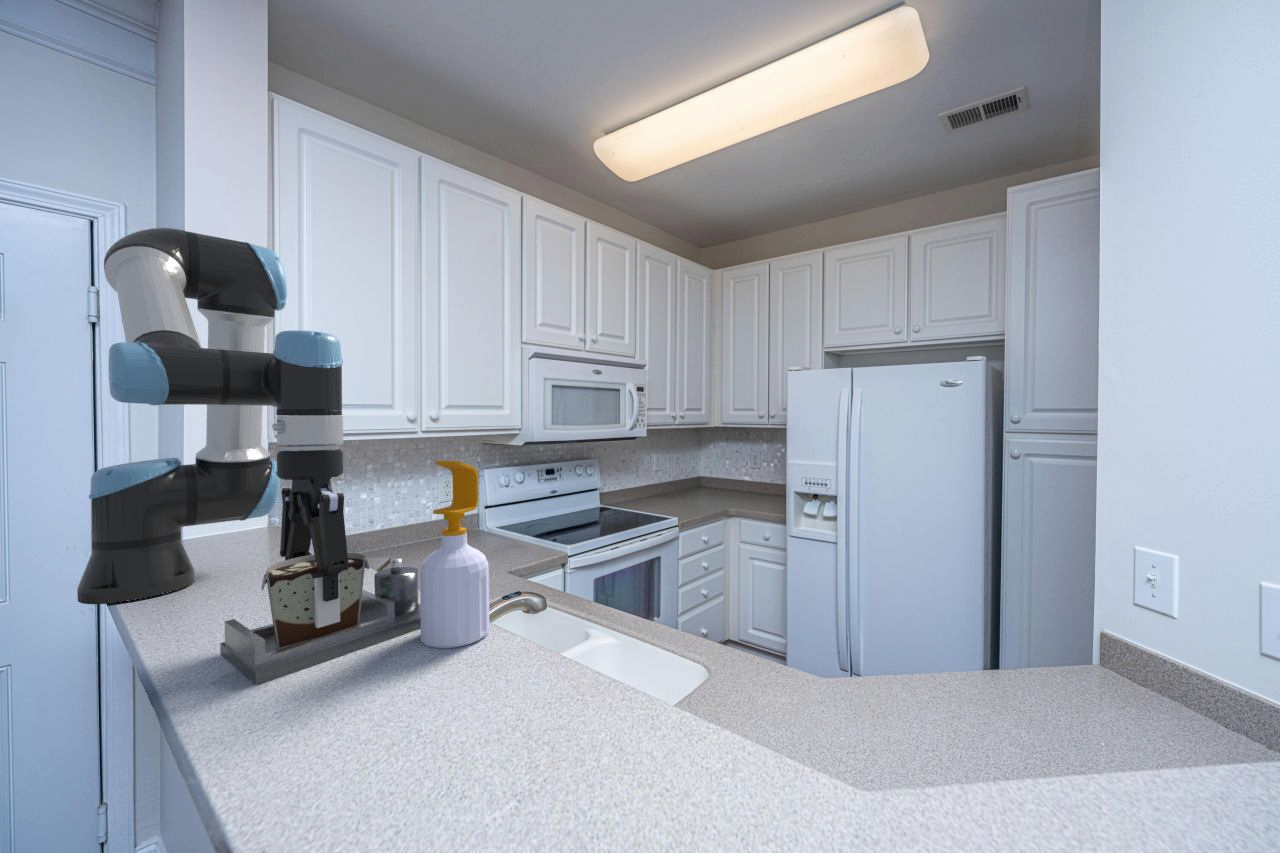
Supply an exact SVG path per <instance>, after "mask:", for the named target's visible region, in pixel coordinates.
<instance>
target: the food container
mask: <svg viewBox="0 0 1280 853" xmlns="http://www.w3.org/2000/svg"><path fill="white" fill-rule="evenodd" d="M347 554H348V564H349V568H348V570H344V571H342V572H341V573H339V576H340V622H337V623H333V624H330V625H327V626H323V627H320V628H317V627H315V586H314V579H313V577H312V574H314V573H316V572H318V570H317V565H316V560H315V555H314V554H312V555H309V556H303V557H298V558H293V559H289V560H286V561H285V560H282V561H280V562H277V563H275V564H272V565H270V566H269V567H267V569H266V571H265V573H264V574H263V579H262V582H261V583H262V584H261V588H260V589H261V591H263V590H265V586H267V592H268V597H269V604H270V611H271V620H272V624H273V626H274V633H275V640H276V647H277V650H279V649H282V648H285V647H289V646H292V645H295V644H298V643H302V642H305V641H308V640H311V639H314V638H318V637H321V636H324V635H327V634H331V633H334V632H337V631H340V630H343V629H347V628H350V627H353V626H356V625H359V622H360V611H361V600H362V590H364V588H363V587H364V577H365V570H366V569H367V570H370V565H369V561H368V559H367V558H366V554H363V553H360V552H351V551H350V552H349V551H347Z"/></svg>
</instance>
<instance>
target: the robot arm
mask: <svg viewBox="0 0 1280 853" xmlns="http://www.w3.org/2000/svg"><path fill="white" fill-rule="evenodd" d="M284 269H285V268H284V266H283V263H282V261H281V259H280V257H279V256H278V254H277V253H276V252H275V251H274V250H272V249H271V248H269V247H268V248H267V247H264V246H260V245H257V244H254V243H250V242H247V241H246V242H245V241H238V240H234V239H229V238H223V237H219V236H212V235H209V234H208V235H207V234H202V233H197V232H192V231H186V230H184V229H179V228H169V227H155V228H154V227H153V228H147V229H141V230H138V231H135V232H132V233H130V234H128V235H127V234H126V235H124V236H123V237H121V238H120V239H119V240H116V242H114V243H113V244H112V245H111V246H110V247H109V249H108V250H107V252H106V253H105V256H104V259H103V271H104V276H105V279H106V281H107V283H108V285H109V286H110V287H111V288H112V289H113V290H114V291H115V293H116V292H117V299H118V305H119V310H120V316H121V322H122V327H123V328H122V329H123V333H124V339H125V341H124V342H120V341H119V342H116V343H113V344H112V345H111V346H110V347H109V349H108V381H109V382H108V383H109V394H110V396H111V397H112V398H113V399H114V400H115V401H117V402H120V403H125V404H127V403H129V404H144V405H149V406H150V405H151V406H160V405H196V406H197V405H205V406H206V434H205V435H206V438H205V439H206V443H205V444H206V445H205V446H204V447H203V448H202V449H200V450H199V451H197V452H196V453H195V463H193V464H192V463H191V464H182V460H180V458H178V457H166V458H155V459H149V460H140V461H134V462H128V463H127V462H126V463H120V464H114V465H110V466H106V467H103V468H100V469H98V470H96V471H95V472H94V473H93V474H92V475H91V478H90V494H89V495H88V500H90V505H91V506H90V508H91V509H90V522H91V523H90V524H91V526H90V527H91V528H90V529H91V530H90V533H91V535H90V536H91V538H90V540H91V554H90V557H89V559H88V562H87V564H86V566H85V569H84V571H83V573H82V576H81V578H80V581H79V583H78V586H77V590H76V592H77V602H78V603H81V604H83V605H84V604H85V605H107V604H108V605H109V604H117V603H116V602H120V603H122V602H121V601H127V600H134V601H136V600H135V599H140V598H145V597H150V598H152V597H151V596H155V597H157V596H156V595H159V594H162V593H167V592H170V591H174V590H177V589H180V590H182V589H181V588H183V589H185V588H187V587H189V586H191V585H193V584H194V583H195V581H194V580H196V579H195V568H194V565H193V564H192V562H191V560H190V557H189V555H188V553H187V551H186V549H185V547H184V545H183V542H182V541H183V540H182V528H183V527H192V526H199V525H200V526H202V525H209V524H217V523H225V522H232V521H233V522H234V521H243V522H244V521H247V520H250V519H255V518H261V517H264V516H267V515H268V514H270V513H271V511H272V510H273V509H274V508H275V505H277V500H278V498H279V494H280V488H281V480H283V481H284V480H285V481H287V480H288V481H292V482H291V487H283V488H282V489H281V501H282V509H281V510H282V511H281V512H282V513H281V526H280V527H281V530H280V547H279V548H280V549H279V550H280V551H279V555H280V557H281V558H284V561H286V560H289V559H293V558H298V557H303V556H309V555H315V560H316V565H317V570H318V572H316V573H314V574H312V577H313V579H314V586H315V627H317V628H320V627H323V626H327V625H330V624H333V623H337V622H340V576H339V573H341V572H342V571H344V570H348V568H349V564H348V554H347V552H348V545H347V536H346V535H347V534H346V526H345V514H344V507H345V496H344V492H343V493H342V492H340V493H334V492H333V488H332V483H331V479H332V478H337V477H339V476H341V475H343V473H344V451H343V450H342V449H341V448H339V446H341V445H342V444H344V415H343V383H342V382H343V375H342V374H343V372H342V370H343V368H342V367H343V363H344V360H343V358H342V350H341V341H340V339H339V338H338V337H337V336H335V335H333V334H330V333H327V332H321V331H314V330H313V331H312V330H298V329H297V330H282V331H280V332H278V333H277V334H276V335H275V337H274V338H275V340H274V341H275V342H274V350H273V351H272V352H271V353H269V352H265V334H266V332H265V331H266V330H265V327H266V326H267V325H268V324H269V323H271V322H273V320H275V311H277V312H279V311H282V310H283V309H285V306H286V304H287V296H288V293H287V292H288V286H287V280H286V278H287V277H286V274H285V270H284ZM186 299H192V300H197V307H196V308H197V311H198V312H199V313H200V314H201V315H203V317H204V318H206V320H207V324H208V325H207V347H202V344H201V341H200V339H199V336H198V332H197V329H196V327H195V324H194V321H193V316H192V315H191V311H190V308H189V306H188V303H187V300H186ZM264 406H267V407H268V406H271V407H276V409H275V412H276V413H275V414H276V423H273V424H272V425H271V427H272V430H273V431H275V432H276V445H277V446H279V447H282V450H279V451H278V452H277V453H276V460H273V459H271V452H270V451H268V450H267V449H266V448H264V446H262V436H263V435H262V430H263V407H264ZM311 544H312V548H313V552H314V553H313V554H312V553H311V552H310V549H311ZM193 582H194V583H193ZM192 583H193V584H192ZM190 584H191V585H190ZM188 585H189V586H188ZM186 586H187V587H186ZM184 587H185V588H184ZM177 591H178V590H177ZM174 592H175V591H174ZM167 594H168V593H167ZM159 596H160V595H159ZM145 599H146V598H145ZM140 600H141V599H140Z"/></svg>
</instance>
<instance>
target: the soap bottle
mask: <svg viewBox="0 0 1280 853" xmlns="http://www.w3.org/2000/svg"><path fill="white" fill-rule="evenodd" d="M434 465H436V466H440V467H442V468H445V469H447V470H449V471H451V476H452V502H451V504H450V505H449V506H445V507H442V508H438V509H434V510H433V511H432V512H433V514H434V515H443V520H446V521H447V528H444V529H441V545H440V547H439V548H437V549H436V550H435V551H433V552H432V553H431V554H429V555H428V556H427V557H426V558H425V559H424V560H423V561H422V562H421V566H420V569H419V586H420V587H419V588H420V589H419V595H420V596H419V598H420V600H419V602H420V603H419V604H420V609H421V628H420V640H421V642H422V643H423V644H424V645H425V646H428V647H432V648H436V649H453V648H459V647H465V646H468V645H470V644H471V645H472V644H474V643H476V642H478V641H480V640H482V639H483V638H485V637H486V636H487V635H488V633H489V631H490V628H491V627H490V569H489V568H490V566H489V565H490V564H489V561H488V559H487V557H486V555H485V554H484V553H483V552H481V551H480V550H479V549H477V548H474V547H472V546H470V544H468V530H467V527H465V526H464V527H462V526H461V524H462V523H461V520H462V519H465V513H468V512H472V511H475V510H476V509H477V507H478V505H479V472H478V469H477V468H476V467H475V466H473V465H470V464H468V463H465V462H463V461H459V460H457V461H456V460H435V464H434Z"/></svg>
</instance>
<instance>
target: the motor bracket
mask: <svg viewBox="0 0 1280 853" xmlns="http://www.w3.org/2000/svg"><path fill="white" fill-rule="evenodd" d="M389 560H390V568H386V569H382V570H379V571H378V572H375V574H374V579H373V580H374V593H372V592H370V591H368V590H364V589H363V590H362V600H361V611H360V622H359V625H356V626H353V627H350V628H347V629H343V630H340V631H337V632H334V633H331V634H327V635H324V636H321V637H318V638H314V639H311V640H308V641H305V642H302V643H298V644H295V645H292V646H289V647H285V648H282V649H279V650H277V647H276V640H275V633H274V626H273V623H272V624H267V625H263V626H260V627H256V628H253V629H249V628H248V627H247V626H245V625H244V624H242V623H241V622H239V621H237V620H236V619H234V618H233V619H229V620H225V621H224V642H221V643H219V650H220V651H219V652H220V653H219V654H220V656H221V657H222V658H223V659H224V660H226V661H227V662H228V663H230V664H231V665H232V666H233V667H234V668H235V669H236V670H237V671H239V672H240V673H241V674H242V675H243V676H244V677H246V678H247V679H248V680H249V681H250V682H252V683H253V684H254V685H255V686H258V685H261V684H263V683H266V682H269V681H273V680H274V679H277V678H278V679H279V678H281V677H283V676H286V675H289V674H291V673H294V672H297V671H300V670H305V669H306V668H310V667H312V666H316V665H318V664H322V663H325V661H329V660H333V659H335V658H338V657H341V656H344V655H346V654H350V653H352V652H355V651H359V650H361V649H365V648H367V647H369V646H373V645H376V644H379V643H381V642H384V641H386V640H391V639H393V638H396V637H399V636H401V635H404V634H407V633H411V632H413V631H417V630H419V629H421V609H420V603H419V570H418V568H417V567H414V566H413V567H412V566H403V558H401V557H394V558H391V559H389Z"/></svg>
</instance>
